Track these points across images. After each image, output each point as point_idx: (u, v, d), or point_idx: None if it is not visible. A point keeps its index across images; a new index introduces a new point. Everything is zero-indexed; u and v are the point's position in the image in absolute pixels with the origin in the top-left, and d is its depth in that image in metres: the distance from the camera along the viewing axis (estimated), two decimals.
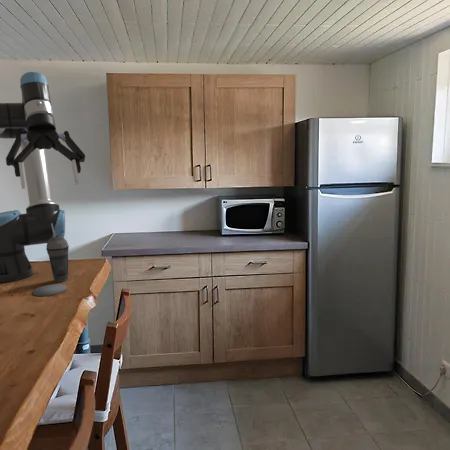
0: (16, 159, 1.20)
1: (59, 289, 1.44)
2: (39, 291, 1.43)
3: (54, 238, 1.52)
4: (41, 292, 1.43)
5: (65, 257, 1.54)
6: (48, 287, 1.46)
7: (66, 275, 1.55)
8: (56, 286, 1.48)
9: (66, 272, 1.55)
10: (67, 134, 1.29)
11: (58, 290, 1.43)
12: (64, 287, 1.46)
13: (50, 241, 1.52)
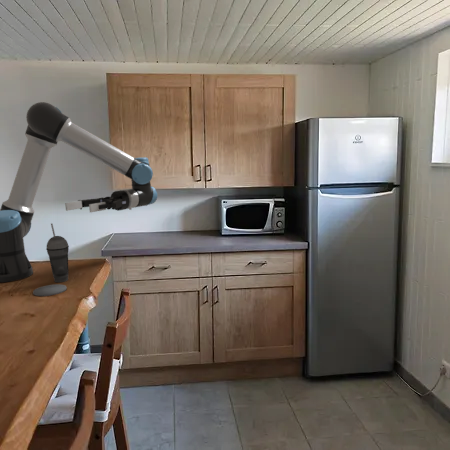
0: None
1: (59, 289, 1.44)
2: (39, 291, 1.43)
3: (54, 238, 1.52)
4: (41, 292, 1.43)
5: (65, 257, 1.54)
6: (48, 287, 1.46)
7: (66, 275, 1.55)
8: (56, 286, 1.48)
9: (66, 272, 1.55)
10: None
11: (58, 290, 1.43)
12: (64, 287, 1.46)
13: (50, 241, 1.52)
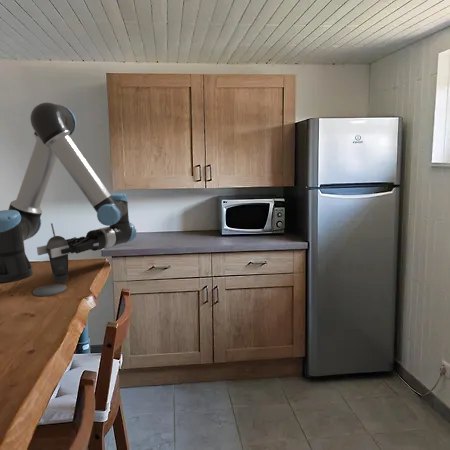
0: None
1: (59, 289, 1.44)
2: (39, 291, 1.43)
3: (54, 238, 1.52)
4: (41, 292, 1.43)
5: (65, 257, 1.54)
6: (48, 287, 1.46)
7: (66, 275, 1.55)
8: (56, 286, 1.48)
9: (66, 272, 1.55)
10: None
11: (58, 290, 1.43)
12: (64, 287, 1.46)
13: (50, 241, 1.52)
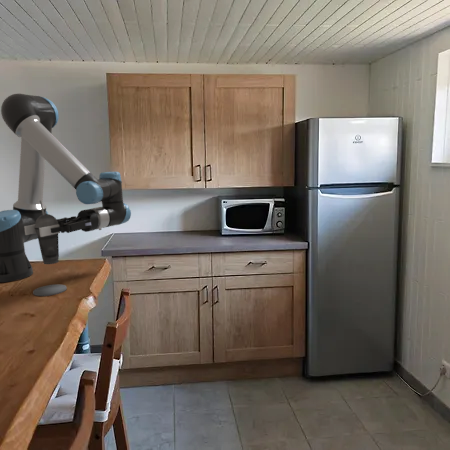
0: None
1: (59, 289, 1.44)
2: (39, 291, 1.43)
3: (43, 216, 1.41)
4: (41, 292, 1.43)
5: (56, 237, 1.43)
6: (48, 287, 1.46)
7: (56, 256, 1.44)
8: (56, 286, 1.48)
9: (56, 253, 1.44)
10: None
11: (58, 290, 1.43)
12: (64, 287, 1.46)
13: (39, 219, 1.41)
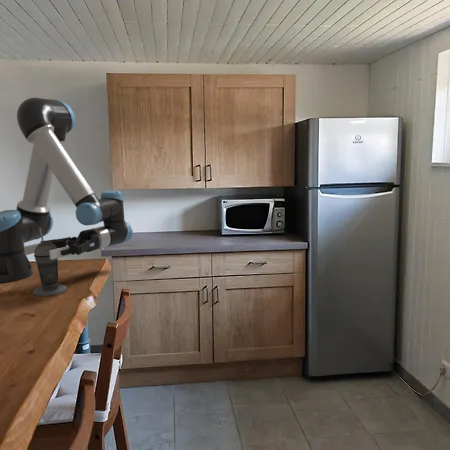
0: None
1: (59, 289, 1.44)
2: (39, 291, 1.43)
3: (42, 244, 1.40)
4: (41, 292, 1.43)
5: (55, 264, 1.42)
6: None
7: (55, 283, 1.44)
8: None
9: (55, 280, 1.43)
10: None
11: (58, 290, 1.43)
12: (64, 287, 1.46)
13: (38, 247, 1.40)
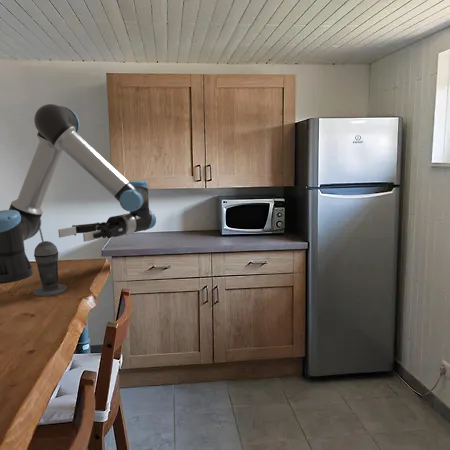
0: None
1: (59, 289, 1.44)
2: (39, 291, 1.43)
3: (42, 244, 1.41)
4: (41, 292, 1.43)
5: (55, 264, 1.42)
6: None
7: (55, 283, 1.44)
8: None
9: (55, 280, 1.43)
10: None
11: (58, 290, 1.43)
12: (64, 287, 1.46)
13: (38, 247, 1.40)
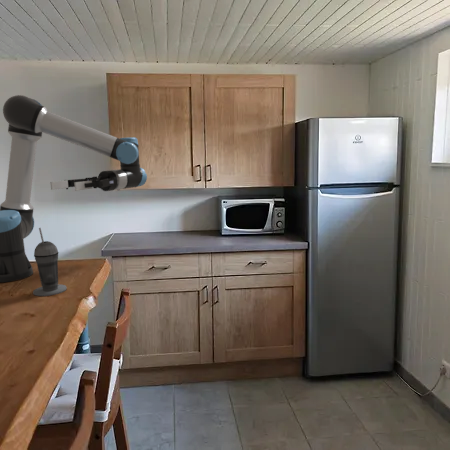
0: None
1: (59, 289, 1.44)
2: (39, 291, 1.43)
3: (42, 244, 1.41)
4: (41, 292, 1.43)
5: (55, 264, 1.42)
6: None
7: (55, 283, 1.44)
8: None
9: (55, 280, 1.43)
10: None
11: (58, 290, 1.43)
12: (64, 287, 1.46)
13: (38, 247, 1.40)
